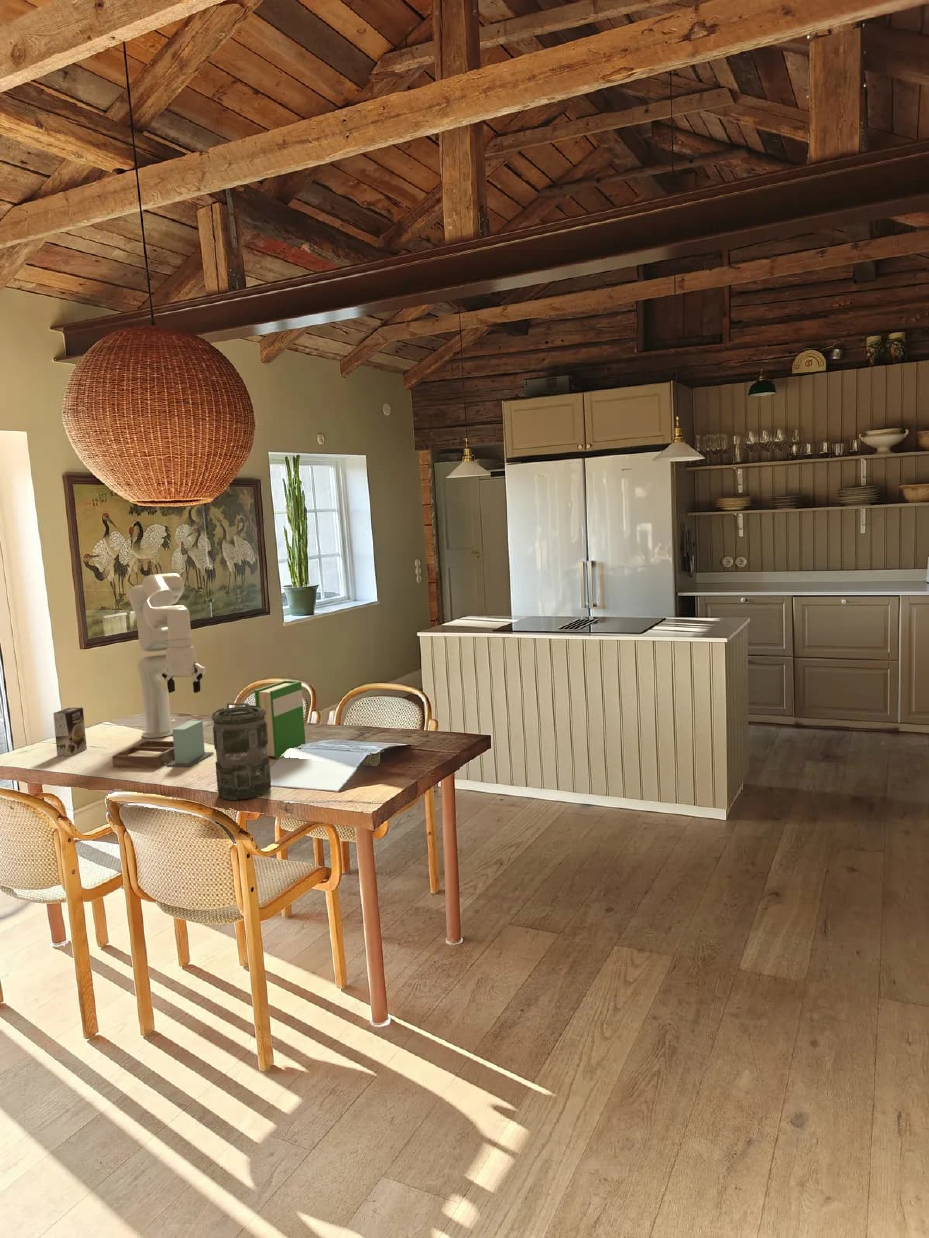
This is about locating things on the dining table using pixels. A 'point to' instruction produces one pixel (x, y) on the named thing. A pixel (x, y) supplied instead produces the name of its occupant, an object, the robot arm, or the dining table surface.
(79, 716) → the coffee box
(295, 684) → the hardback book
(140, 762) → the rack
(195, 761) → the mat
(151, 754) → the offcut upper
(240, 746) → the canister
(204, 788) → the dining table surface
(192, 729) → the pale green square slab
